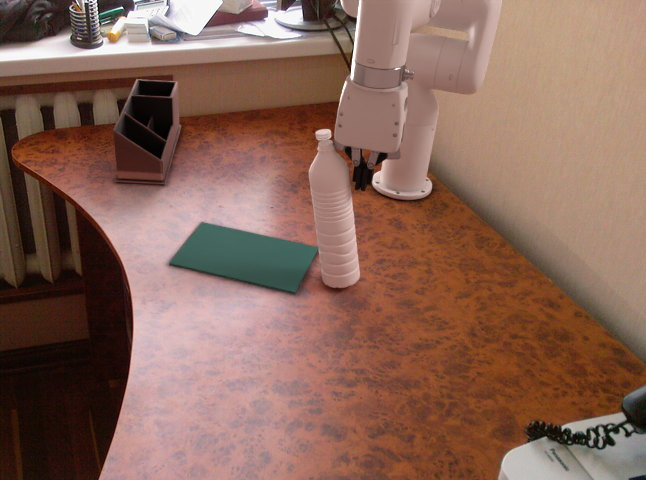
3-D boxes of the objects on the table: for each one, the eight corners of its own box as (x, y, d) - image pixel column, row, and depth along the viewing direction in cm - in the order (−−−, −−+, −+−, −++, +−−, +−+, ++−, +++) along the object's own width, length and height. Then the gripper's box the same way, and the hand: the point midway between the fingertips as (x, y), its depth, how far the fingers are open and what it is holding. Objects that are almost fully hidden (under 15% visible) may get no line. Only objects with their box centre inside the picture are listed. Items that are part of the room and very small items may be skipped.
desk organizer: (181, 126, 175) (180, 80, 169) (165, 185, 152) (163, 134, 145) (137, 124, 175) (134, 77, 168) (114, 182, 152) (109, 131, 145)
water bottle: (362, 285, 124) (348, 146, 111) (324, 291, 125) (305, 152, 111) (356, 259, 131) (342, 125, 118) (320, 264, 132) (302, 132, 118)
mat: (202, 223, 141) (202, 221, 140) (318, 249, 135) (318, 247, 135) (169, 264, 129) (169, 262, 129) (295, 294, 124) (295, 292, 124)
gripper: (432, 72, 108) (411, 185, 119) (333, 57, 111) (321, 168, 122) (425, 90, 102) (404, 207, 113) (320, 73, 105) (309, 188, 116)
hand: (361, 186), depth 117 cm, fingers closed
